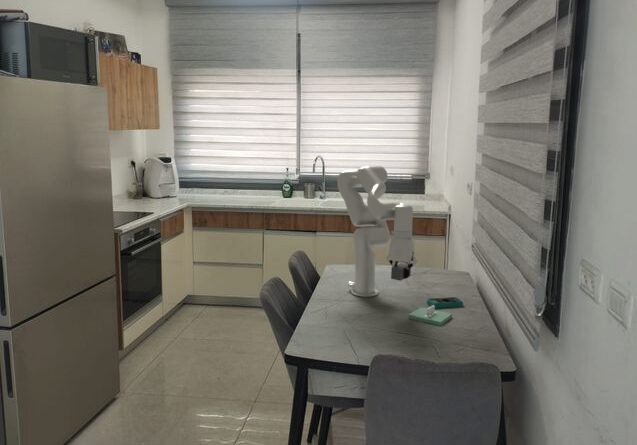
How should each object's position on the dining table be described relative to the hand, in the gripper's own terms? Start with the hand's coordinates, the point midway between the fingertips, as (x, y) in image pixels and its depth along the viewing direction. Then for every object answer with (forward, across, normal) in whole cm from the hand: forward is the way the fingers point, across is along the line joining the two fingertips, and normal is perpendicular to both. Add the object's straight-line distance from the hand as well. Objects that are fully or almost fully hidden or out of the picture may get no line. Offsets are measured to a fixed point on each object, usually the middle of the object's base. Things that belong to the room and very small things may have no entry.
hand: (401, 276), depth 230 cm
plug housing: (0, 0, 0) cm, 0 cm away
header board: (+15, +14, 0) cm, 21 cm away
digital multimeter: (+16, +12, +20) cm, 28 cm away
